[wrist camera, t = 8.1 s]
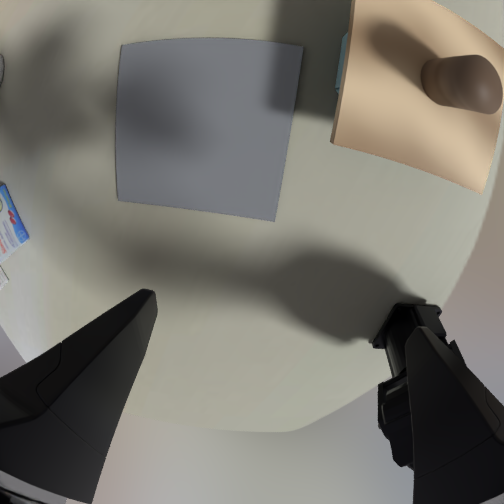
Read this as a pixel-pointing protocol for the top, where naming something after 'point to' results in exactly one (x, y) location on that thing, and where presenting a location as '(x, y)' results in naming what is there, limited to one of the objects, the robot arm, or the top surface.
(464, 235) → the top surface
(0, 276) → the supplement box
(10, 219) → the medicine box
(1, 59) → the cupcake
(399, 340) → the robot arm
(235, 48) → the mat
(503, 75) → the lid
